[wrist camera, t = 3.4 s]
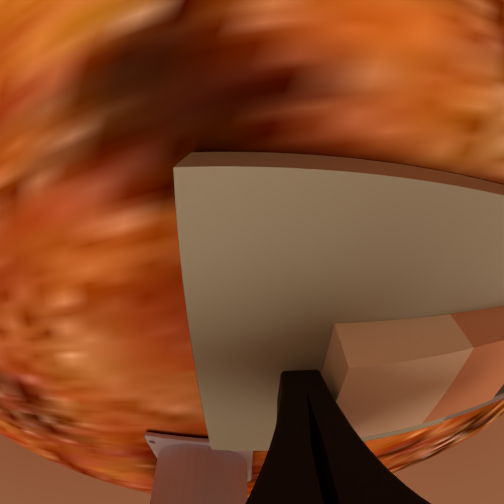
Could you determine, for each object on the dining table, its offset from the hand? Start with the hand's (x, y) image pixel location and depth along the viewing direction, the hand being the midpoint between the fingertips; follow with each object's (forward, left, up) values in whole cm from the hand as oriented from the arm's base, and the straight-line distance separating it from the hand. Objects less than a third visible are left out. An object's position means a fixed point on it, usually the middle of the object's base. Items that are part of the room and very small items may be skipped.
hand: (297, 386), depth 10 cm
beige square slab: (0, -4, -3) cm, 5 cm away
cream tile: (0, -3, -1) cm, 4 cm away
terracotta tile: (0, -9, -1) cm, 9 cm away
